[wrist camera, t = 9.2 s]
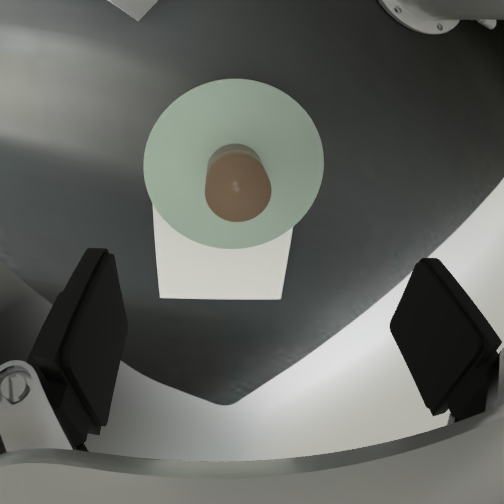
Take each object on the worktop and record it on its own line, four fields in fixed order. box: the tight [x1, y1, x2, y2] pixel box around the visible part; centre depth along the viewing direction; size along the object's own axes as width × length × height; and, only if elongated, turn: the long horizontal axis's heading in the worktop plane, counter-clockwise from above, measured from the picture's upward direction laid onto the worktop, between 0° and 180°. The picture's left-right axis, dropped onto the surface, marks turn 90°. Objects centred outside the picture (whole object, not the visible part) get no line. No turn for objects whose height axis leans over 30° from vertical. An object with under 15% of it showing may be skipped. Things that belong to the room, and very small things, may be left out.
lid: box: [143, 79, 324, 249], centre depth 19 cm, size 12×12×5 cm
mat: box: [153, 205, 293, 299], centre depth 36 cm, size 15×15×1 cm
